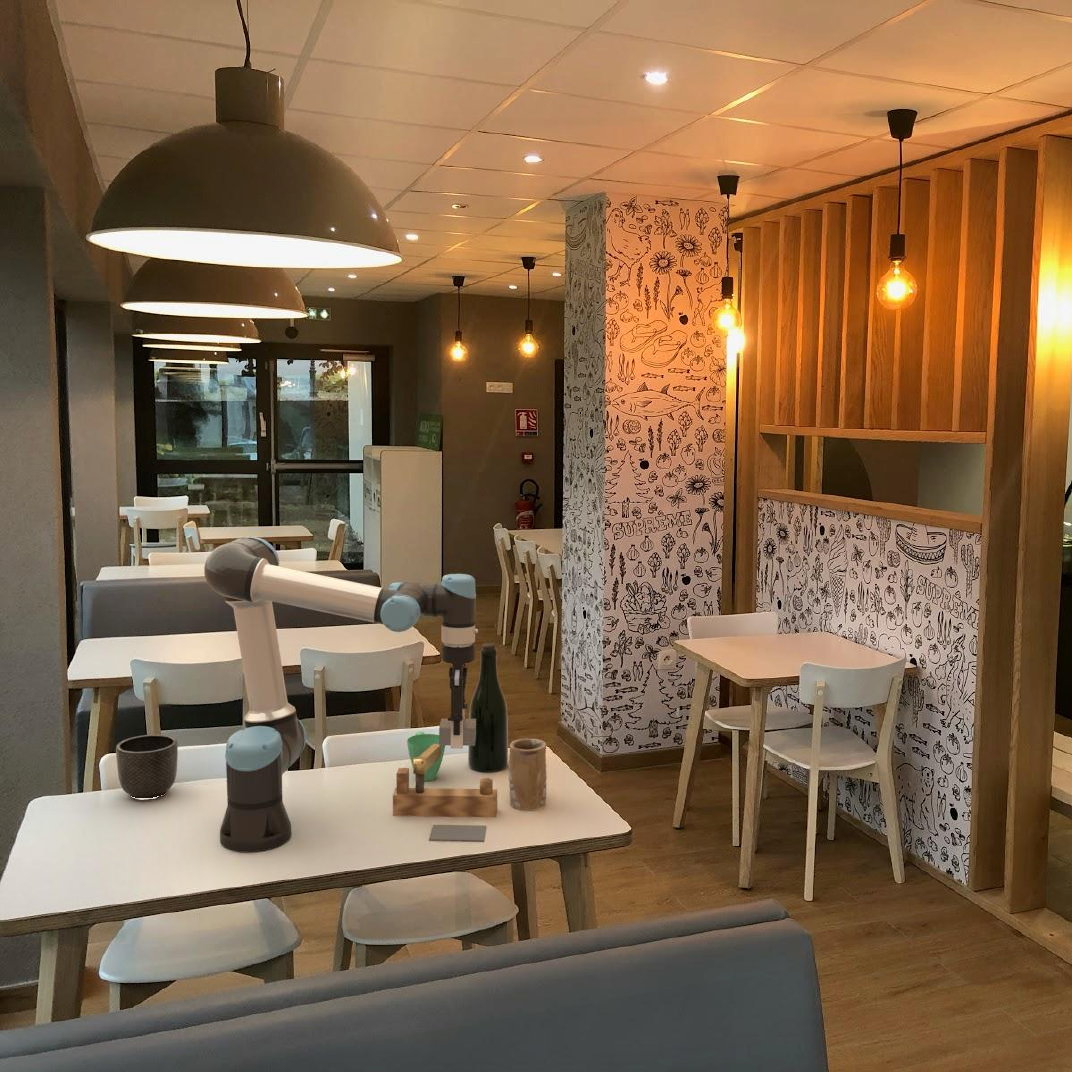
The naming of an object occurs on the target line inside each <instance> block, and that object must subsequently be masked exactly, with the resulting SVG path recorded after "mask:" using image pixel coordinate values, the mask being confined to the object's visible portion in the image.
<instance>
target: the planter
mask: <svg viewBox="0 0 1072 1072" xmlns="http://www.w3.org/2000/svg"><path fill="white" fill-rule="evenodd" d="M115 746H116V747H115V755H116V757H115V758H116V766H117V774H118V775H117V776H118V780H119V783H120V787H121V789H122V790H123V791H124V792H125V793H126V794H128V795H129V797H131V796H132V797H135V798H153V797H157V796H161V795H164V794H165V793H166V794H167V792H168V791H169V790H170V789H171V788H172V787H173V785H174V783H175V782H176V778H177V771H178V751H179V749H178V746H179V745H178V739H177V738H176V737H174V736H171V735H168V734H145V735H144V734H143V735H138V736H134V737H133V736H132V737H129V738H126V739H124V740H122V741H120V742H118V743H117V744H116V745H115ZM166 794H165V795H166ZM165 795H164V796H165ZM132 797H131V798H132Z"/></svg>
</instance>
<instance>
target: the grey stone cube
mask: <svg viewBox="0 0 1072 1072" xmlns="http://www.w3.org/2000/svg"><path fill="white" fill-rule="evenodd" d="M438 733H439V734H438V735H439V745H445V746H451V721H448V718H441V719H440V723H439V727H438ZM475 740H476V719H469V718H465V719H463V747H464V746H466V747H467V746H475Z"/></svg>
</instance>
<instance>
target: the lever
mask: <svg viewBox="0 0 1072 1072" xmlns="http://www.w3.org/2000/svg"><path fill="white" fill-rule="evenodd" d="M440 757H441V745H439V744H432V745H431V746H430V747H429V748H428V749H427V750H426V751H425V752H424V753H423V754H422V755H420V756H419V757H416V758H414V759H413V766H412V772H413V774H414V775H416V774H418V775H420V774H425V773H426V771H427V770H428V769H429V768H430V767H431V766H432V765H433V764H434V763H435V762H436V761H437V760H438V759H439V758H440Z"/></svg>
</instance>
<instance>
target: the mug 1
mask: <svg viewBox="0 0 1072 1072" xmlns="http://www.w3.org/2000/svg"><path fill="white" fill-rule="evenodd" d="M406 742H407V743H406V744H407V749H408V756H409V759H410V762H411V765H412V767H413V759H414V758H416V757H419V756H420V755H422V754H423V753H424V752H425V751H426V750H427V749H428V748H429V747H430V746H431V745H432V744H439V734H434V733H425V732H424V731H418V732H416V733H415V735H411V736H410V737H408V738H407V739H406ZM445 748H446V745H441V757H440V758H439V759H438V760H437V761H436V762H435V763H434V764H433V765H432V766H431V767H430V768H429V769H428V770H427V771H426V773H425V774H424V782H429V781H430V782H431V781H433V780H436V778H437V776H438V773H439V771H440V769H441V765H442V762H443V759H444V755H445Z"/></svg>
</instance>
